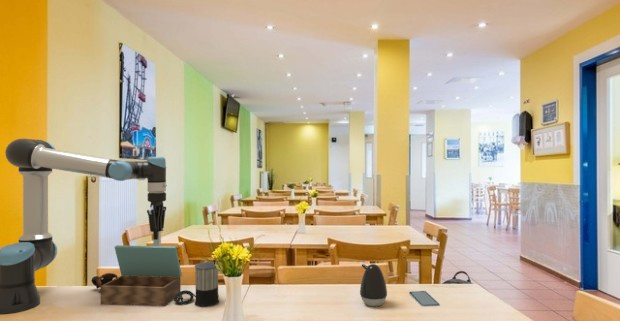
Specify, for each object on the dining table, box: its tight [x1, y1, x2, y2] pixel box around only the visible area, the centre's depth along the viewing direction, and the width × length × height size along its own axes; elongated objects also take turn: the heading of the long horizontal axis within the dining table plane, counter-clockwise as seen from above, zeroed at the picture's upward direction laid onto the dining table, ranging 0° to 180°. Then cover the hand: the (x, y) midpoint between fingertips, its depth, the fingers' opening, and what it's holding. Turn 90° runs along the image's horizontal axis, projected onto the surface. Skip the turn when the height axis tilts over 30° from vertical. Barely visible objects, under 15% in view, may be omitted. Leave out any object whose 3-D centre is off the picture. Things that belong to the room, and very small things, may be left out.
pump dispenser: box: [359, 263, 388, 307], centre depth 151 cm, size 10×10×15 cm
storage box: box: [99, 275, 182, 307], centre depth 159 cm, size 26×14×7 cm, turn 84°
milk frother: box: [173, 261, 220, 308], centre depth 154 cm, size 14×16×15 cm
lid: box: [114, 245, 182, 278], centre depth 164 cm, size 26×14×2 cm
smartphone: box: [408, 290, 440, 307], centre depth 156 cm, size 7×1×15 cm
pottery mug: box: [91, 272, 119, 294], centre depth 170 cm, size 12×9×8 cm
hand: (157, 246), depth 172 cm, fingers closed
